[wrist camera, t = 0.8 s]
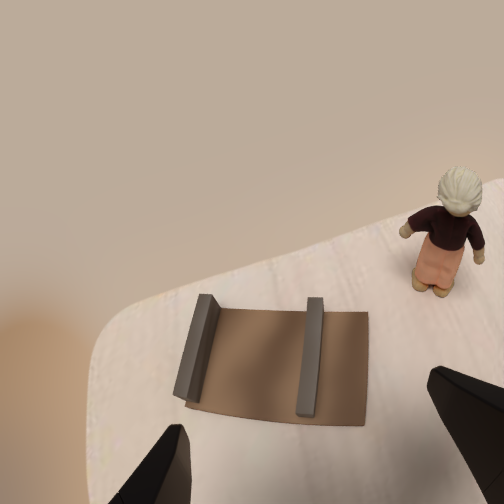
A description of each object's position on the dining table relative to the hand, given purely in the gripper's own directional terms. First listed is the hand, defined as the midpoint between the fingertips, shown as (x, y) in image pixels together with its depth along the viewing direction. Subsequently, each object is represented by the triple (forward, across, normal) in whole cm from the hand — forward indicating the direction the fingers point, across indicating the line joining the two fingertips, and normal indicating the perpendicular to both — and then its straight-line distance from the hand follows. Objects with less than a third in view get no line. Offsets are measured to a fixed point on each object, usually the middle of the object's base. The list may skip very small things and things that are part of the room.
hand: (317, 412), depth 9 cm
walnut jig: (+13, 0, +8) cm, 15 cm away
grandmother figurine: (+15, -15, +4) cm, 21 cm away
